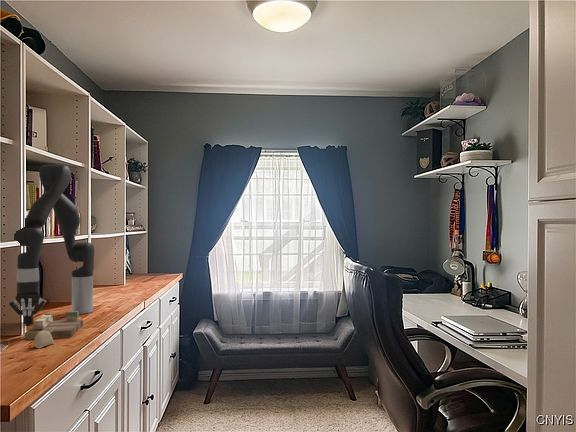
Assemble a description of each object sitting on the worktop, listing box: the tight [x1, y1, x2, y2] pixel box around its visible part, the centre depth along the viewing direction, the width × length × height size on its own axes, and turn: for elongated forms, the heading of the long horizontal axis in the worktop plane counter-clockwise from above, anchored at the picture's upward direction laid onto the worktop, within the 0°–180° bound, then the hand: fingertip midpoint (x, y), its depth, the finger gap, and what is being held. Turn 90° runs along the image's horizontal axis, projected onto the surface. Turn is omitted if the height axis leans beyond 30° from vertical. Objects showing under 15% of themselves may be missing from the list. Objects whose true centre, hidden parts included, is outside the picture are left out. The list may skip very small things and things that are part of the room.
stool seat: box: [24, 310, 84, 341], centre depth 178 cm, size 20×16×6 cm
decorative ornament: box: [33, 328, 56, 349], centre depth 160 cm, size 4×8×5 cm, turn 160°
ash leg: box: [33, 312, 54, 329], centre depth 178 cm, size 14×3×3 cm, turn 12°
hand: (28, 325), depth 172 cm, fingers closed
